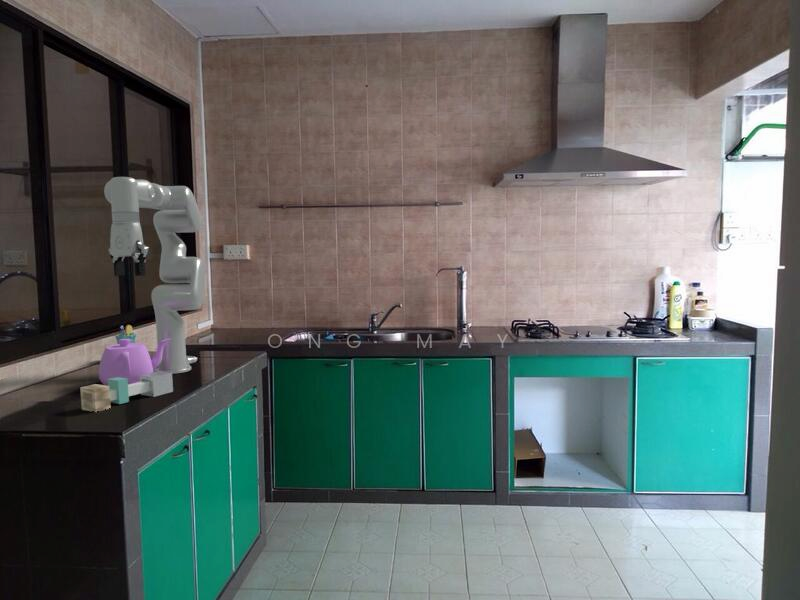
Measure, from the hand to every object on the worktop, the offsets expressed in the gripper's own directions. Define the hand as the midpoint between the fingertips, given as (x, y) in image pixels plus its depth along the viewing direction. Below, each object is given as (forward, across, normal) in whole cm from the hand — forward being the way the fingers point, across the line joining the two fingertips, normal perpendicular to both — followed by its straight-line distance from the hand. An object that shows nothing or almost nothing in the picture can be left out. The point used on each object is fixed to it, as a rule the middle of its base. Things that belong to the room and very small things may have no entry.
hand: (129, 275), depth 184 cm
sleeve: (+36, +6, +2) cm, 37 cm away
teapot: (+37, -15, +8) cm, 40 cm away
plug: (+36, +6, -9) cm, 38 cm away
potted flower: (+36, -54, +34) cm, 74 cm away
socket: (+36, +6, -18) cm, 41 cm away
